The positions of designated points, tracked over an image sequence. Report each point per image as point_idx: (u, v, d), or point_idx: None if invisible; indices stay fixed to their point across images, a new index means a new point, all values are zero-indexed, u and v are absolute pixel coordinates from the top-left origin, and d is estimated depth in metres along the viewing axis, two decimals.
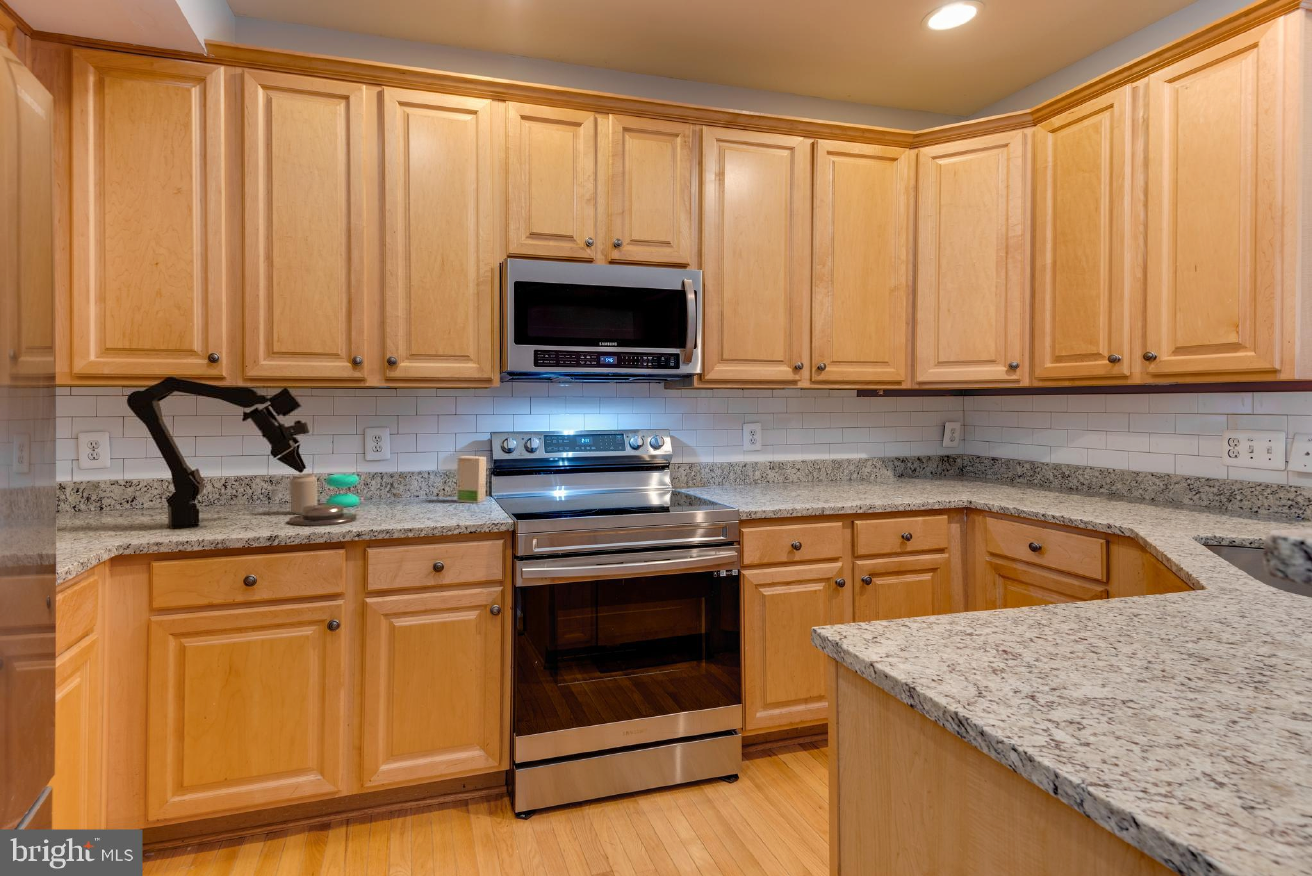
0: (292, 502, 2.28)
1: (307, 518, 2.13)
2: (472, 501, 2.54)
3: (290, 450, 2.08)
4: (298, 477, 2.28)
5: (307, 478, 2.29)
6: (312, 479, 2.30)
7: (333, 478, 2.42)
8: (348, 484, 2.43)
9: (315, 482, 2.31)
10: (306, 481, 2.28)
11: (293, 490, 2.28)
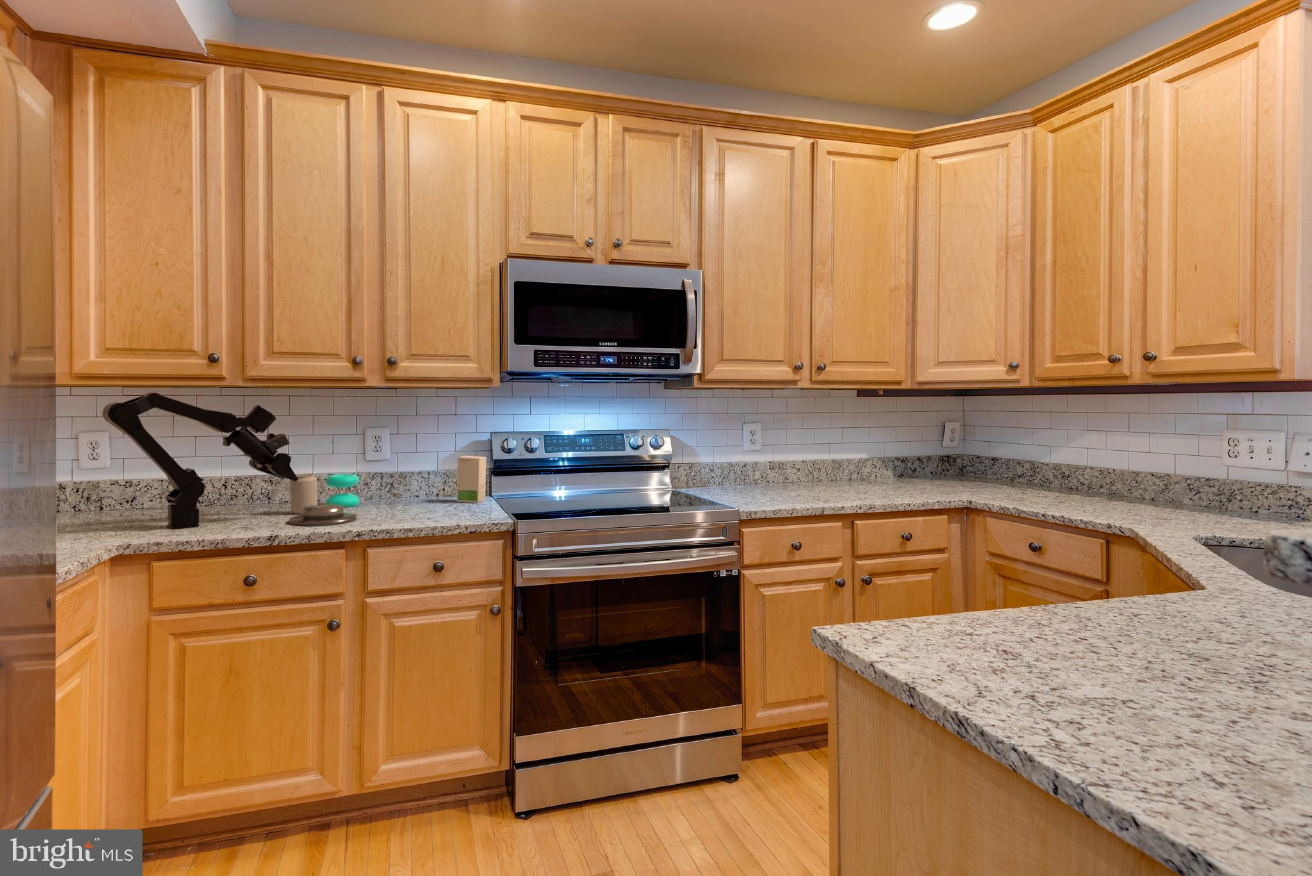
0: (292, 502, 2.28)
1: (307, 518, 2.13)
2: (472, 501, 2.54)
3: (287, 462, 2.19)
4: (298, 477, 2.28)
5: (307, 478, 2.29)
6: (312, 479, 2.30)
7: (333, 478, 2.42)
8: (348, 484, 2.43)
9: (315, 482, 2.31)
10: (306, 481, 2.28)
11: (293, 490, 2.28)
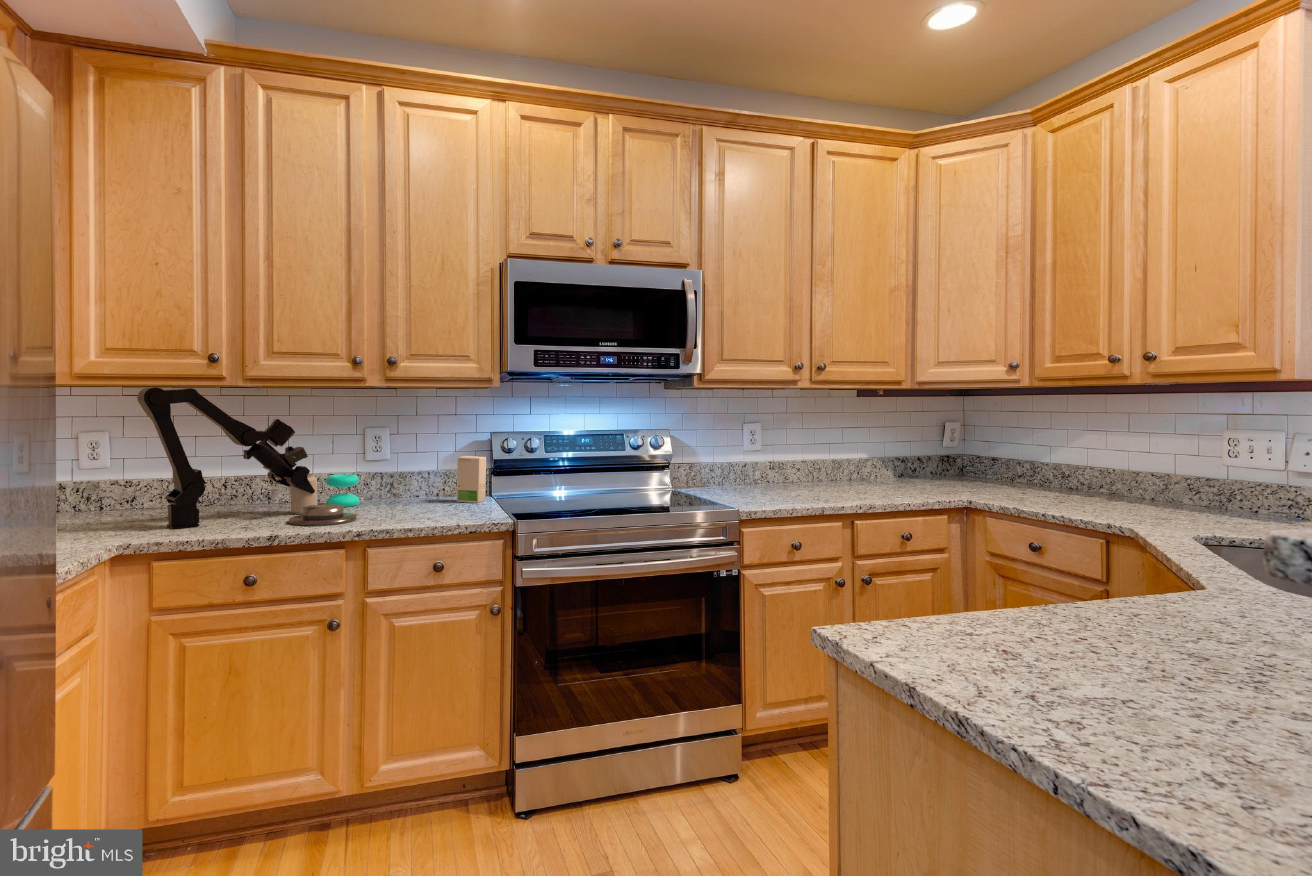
0: (292, 502, 2.28)
1: (307, 518, 2.13)
2: (472, 501, 2.54)
3: None
4: None
5: None
6: (312, 479, 2.30)
7: (333, 478, 2.42)
8: (348, 484, 2.43)
9: (315, 482, 2.31)
10: None
11: (293, 490, 2.28)
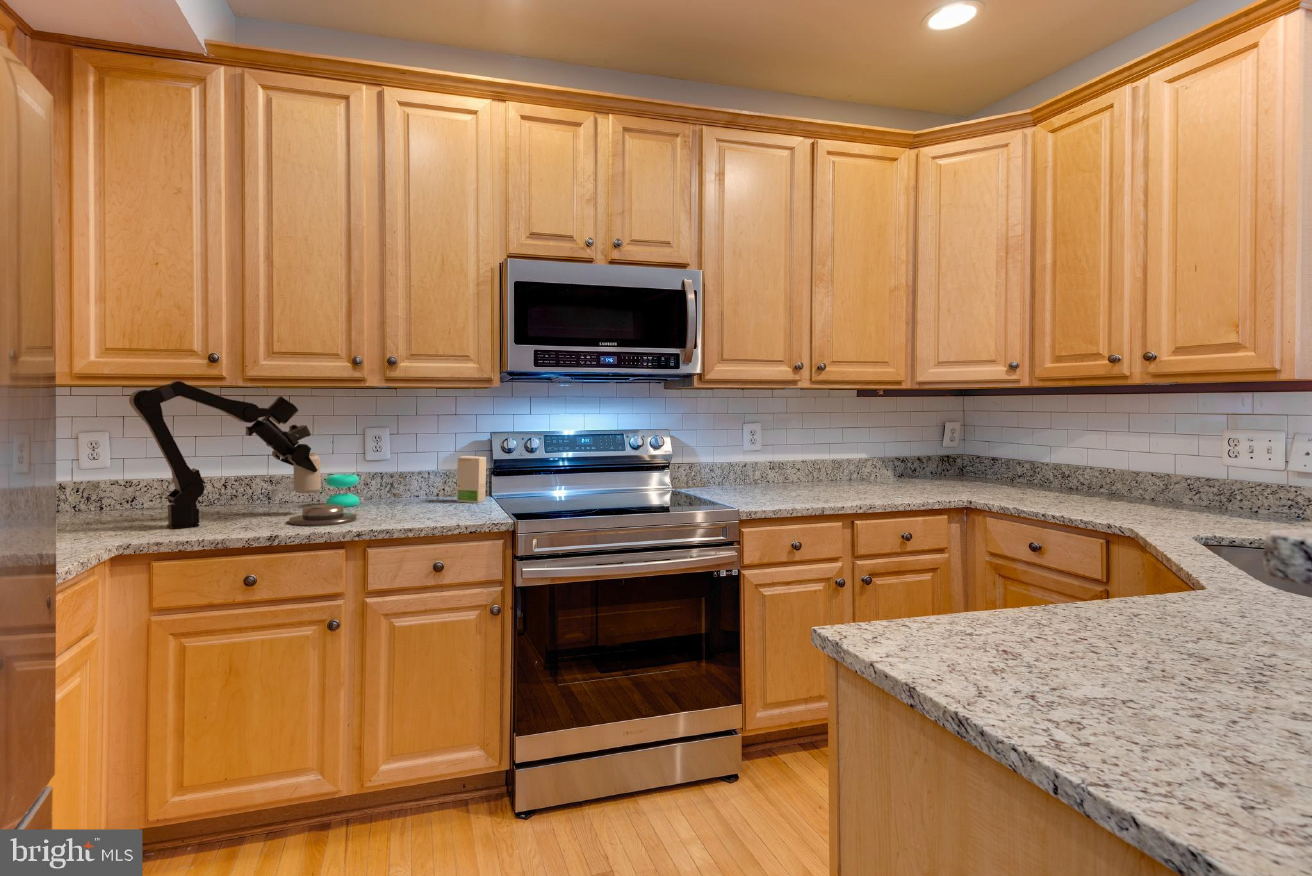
0: (295, 480, 2.27)
1: (307, 518, 2.13)
2: (472, 501, 2.54)
3: (306, 453, 2.22)
4: None
5: (310, 457, 2.27)
6: (315, 458, 2.28)
7: (333, 478, 2.42)
8: (348, 484, 2.43)
9: (318, 461, 2.29)
10: None
11: (295, 469, 2.26)
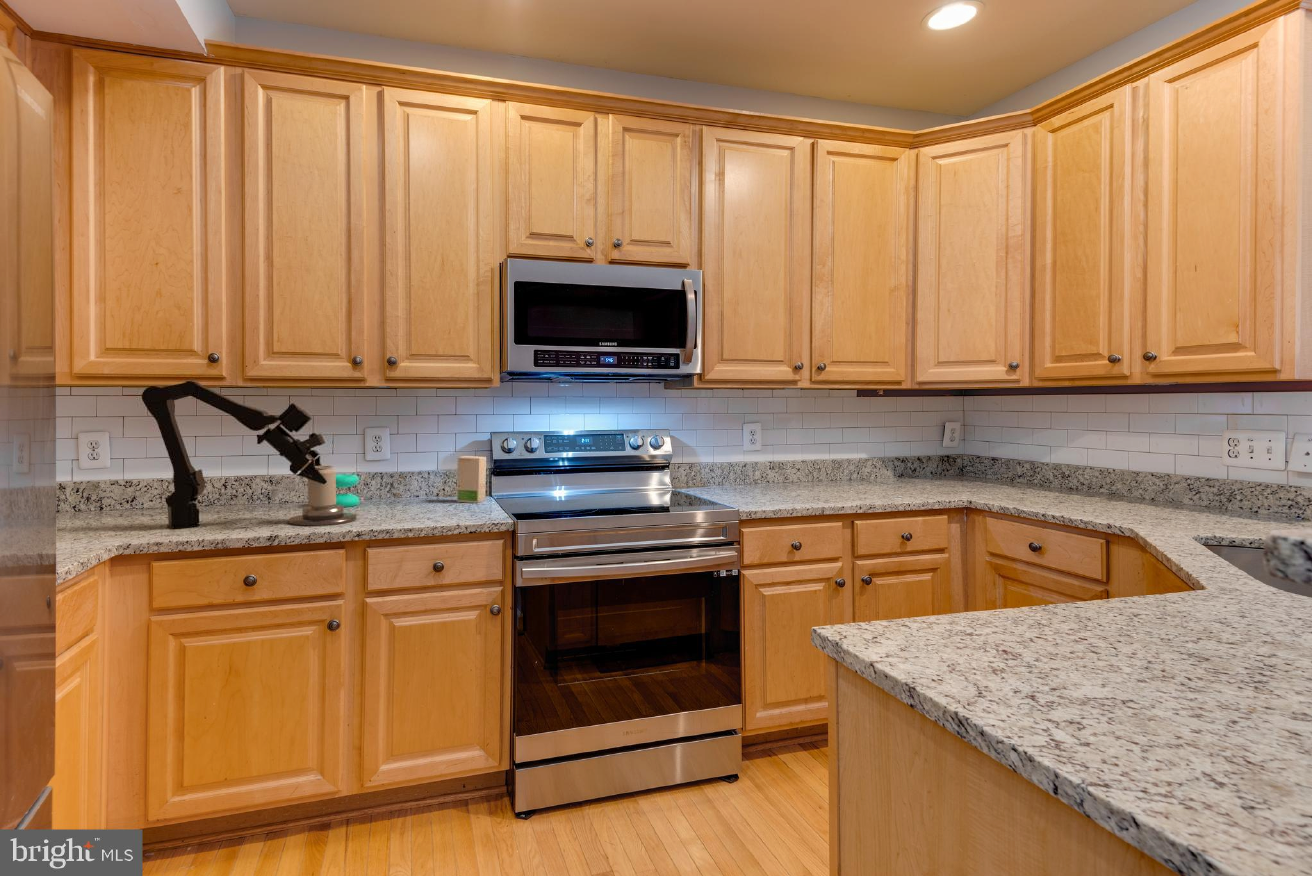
0: (308, 495, 2.16)
1: (307, 518, 2.13)
2: (472, 501, 2.54)
3: (308, 464, 2.08)
4: None
5: (319, 470, 2.14)
6: (325, 471, 2.14)
7: None
8: (348, 484, 2.43)
9: (329, 475, 2.15)
10: None
11: None
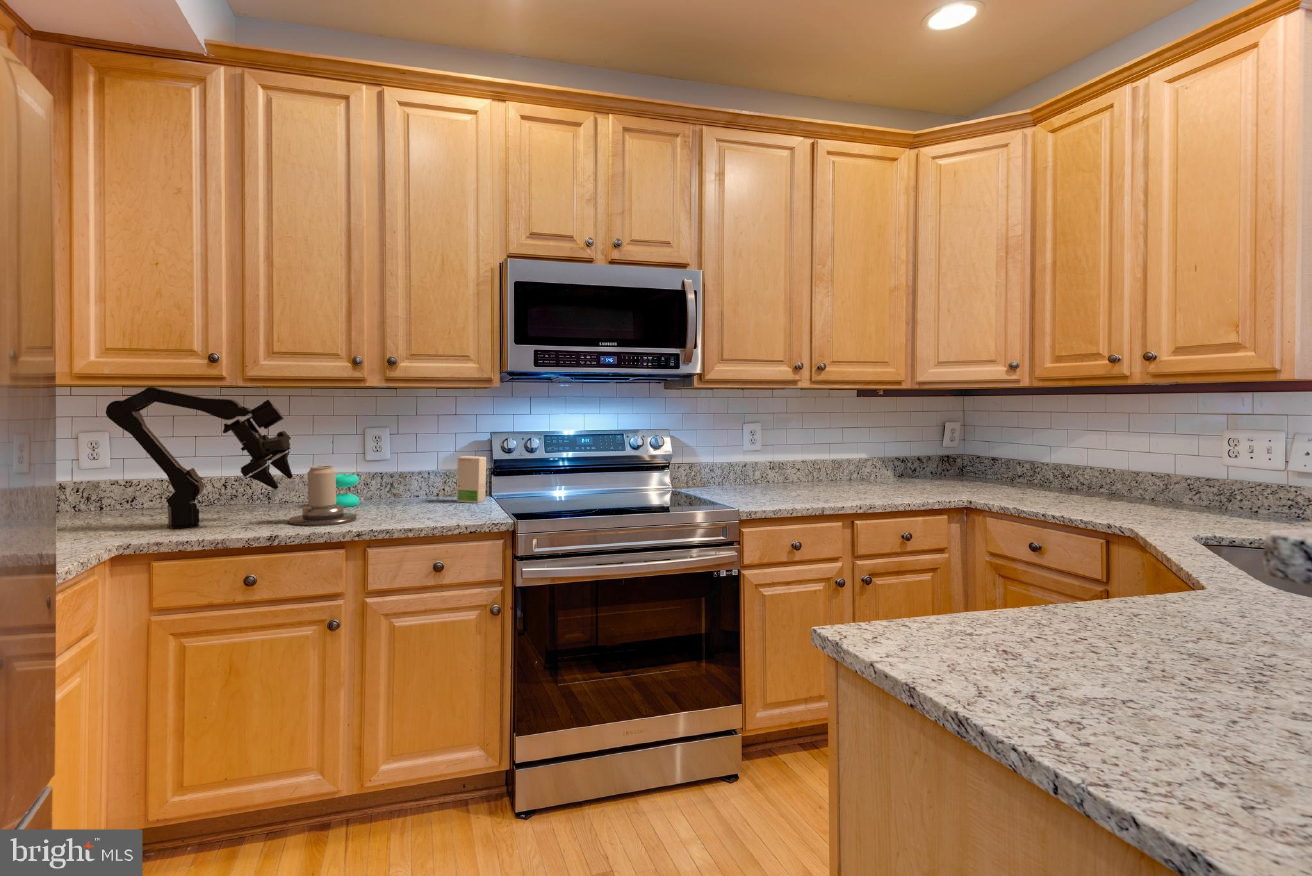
0: (308, 495, 2.16)
1: (307, 518, 2.13)
2: (472, 501, 2.54)
3: (260, 470, 2.06)
4: (311, 469, 2.14)
5: (319, 470, 2.14)
6: (325, 471, 2.14)
7: None
8: (348, 484, 2.43)
9: (329, 475, 2.15)
10: (317, 473, 2.13)
11: None
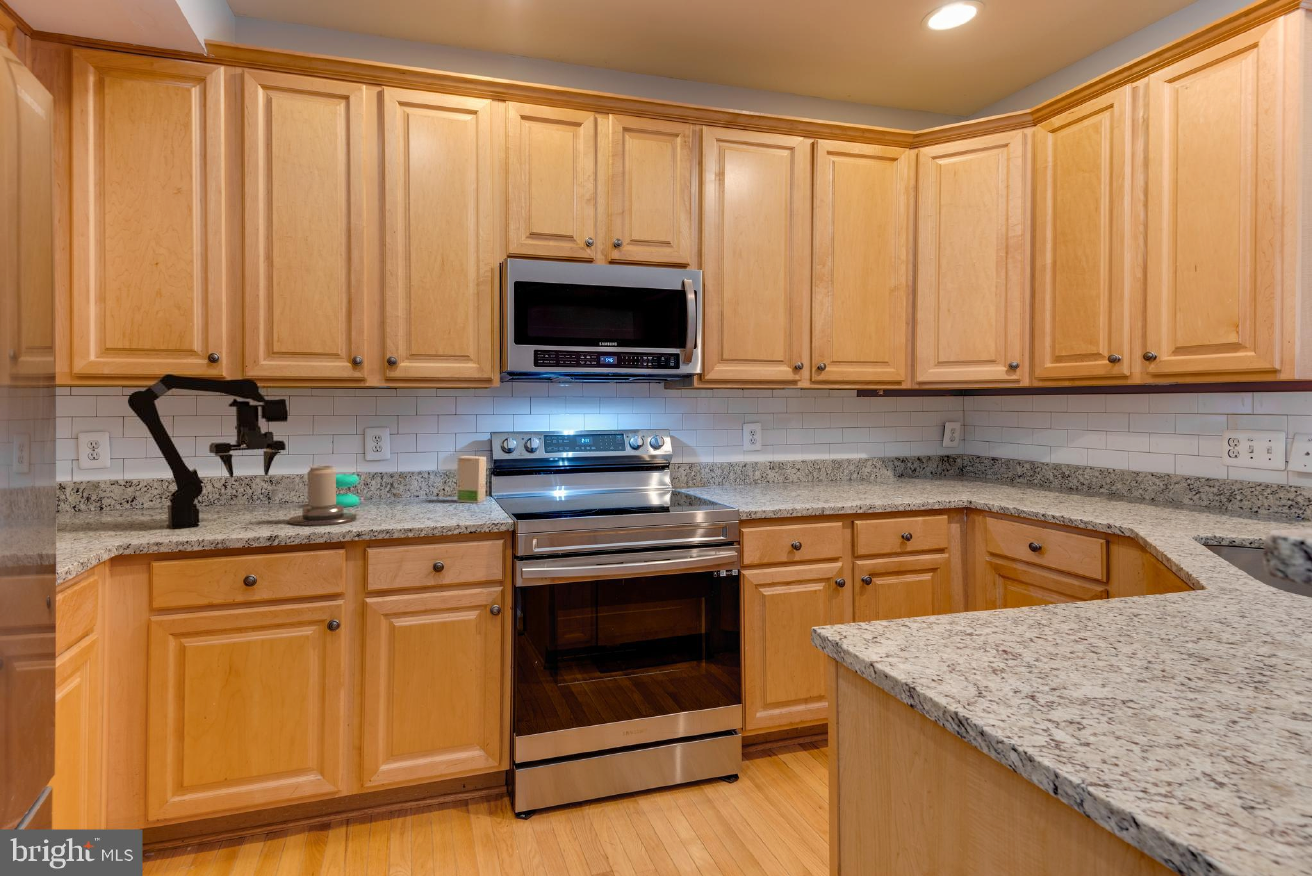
0: (308, 495, 2.16)
1: (307, 518, 2.13)
2: (472, 501, 2.54)
3: (219, 454, 2.08)
4: (311, 469, 2.14)
5: (319, 470, 2.14)
6: (325, 472, 2.14)
7: None
8: (348, 484, 2.43)
9: (329, 475, 2.15)
10: (317, 473, 2.13)
11: None
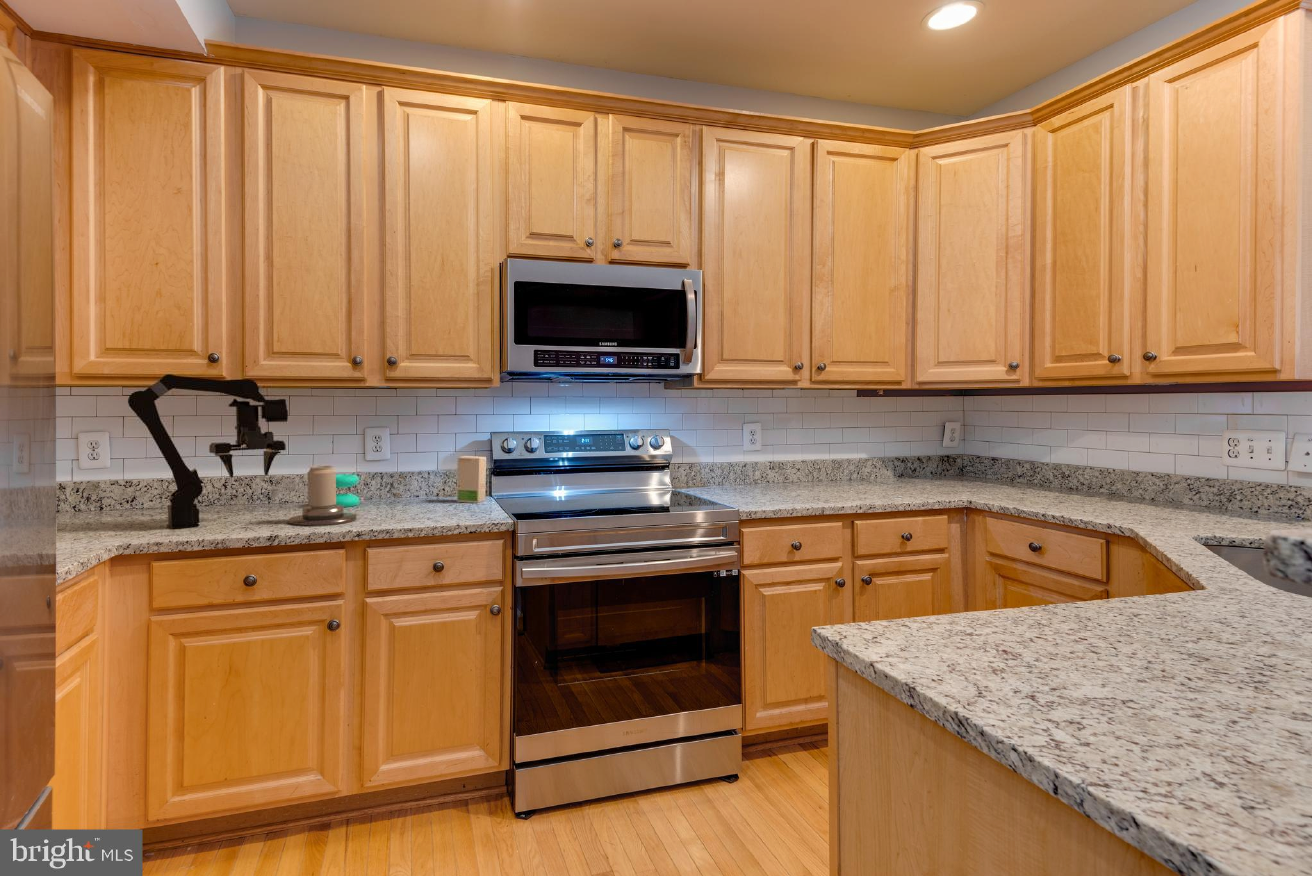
0: (308, 495, 2.16)
1: (307, 518, 2.13)
2: (472, 501, 2.54)
3: (219, 454, 2.08)
4: (311, 469, 2.14)
5: (319, 470, 2.14)
6: (325, 472, 2.14)
7: None
8: (348, 484, 2.43)
9: (329, 475, 2.15)
10: (317, 473, 2.13)
11: None
